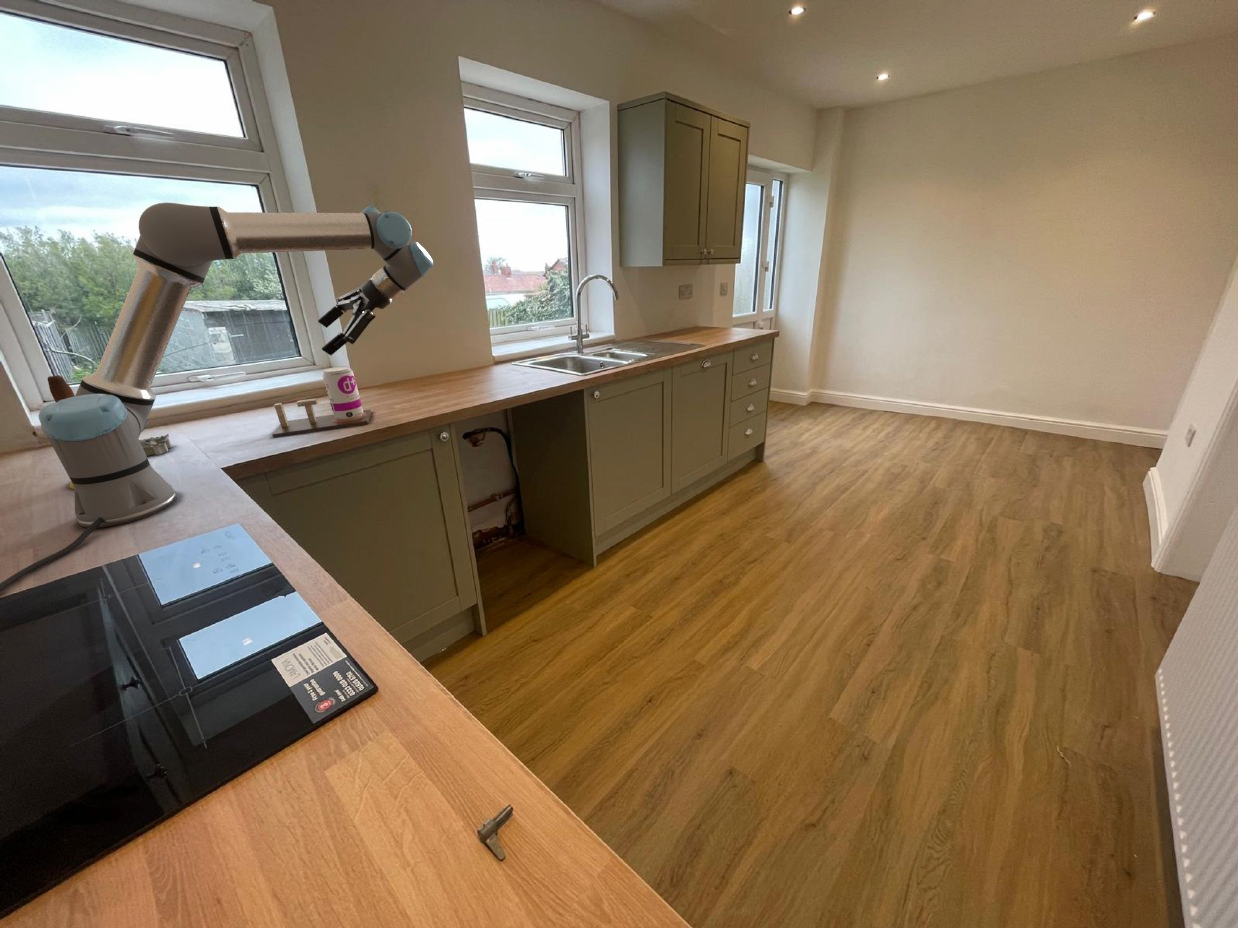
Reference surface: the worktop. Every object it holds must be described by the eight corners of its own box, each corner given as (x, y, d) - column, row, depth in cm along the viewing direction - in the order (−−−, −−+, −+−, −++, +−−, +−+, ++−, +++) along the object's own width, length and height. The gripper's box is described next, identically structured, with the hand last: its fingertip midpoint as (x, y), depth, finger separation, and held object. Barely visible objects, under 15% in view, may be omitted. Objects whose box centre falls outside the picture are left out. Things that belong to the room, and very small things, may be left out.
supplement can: (369, 414, 156) (357, 367, 150) (344, 422, 150) (330, 373, 144) (354, 411, 160) (342, 365, 154) (329, 419, 154) (315, 370, 148)
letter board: (368, 423, 151) (361, 398, 148) (273, 437, 144) (264, 410, 141) (371, 412, 163) (365, 388, 159) (283, 424, 155) (275, 399, 152)
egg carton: (116, 461, 131) (108, 447, 130) (129, 452, 138) (122, 438, 136) (165, 454, 135) (159, 439, 133) (176, 445, 141) (170, 431, 140)
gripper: (401, 323, 130) (340, 372, 132) (386, 276, 144) (332, 321, 147) (377, 303, 124) (314, 356, 126) (364, 257, 138) (308, 304, 141)
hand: (324, 337), depth 137 cm, fingers open, 13 cm apart
